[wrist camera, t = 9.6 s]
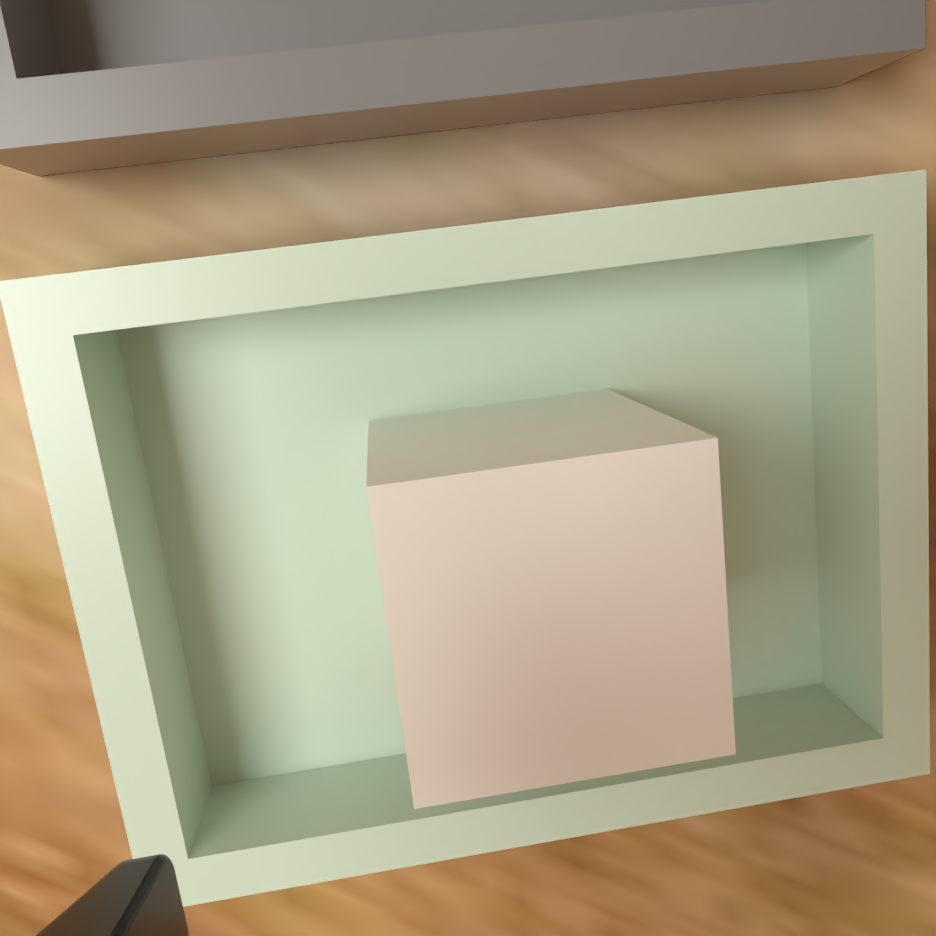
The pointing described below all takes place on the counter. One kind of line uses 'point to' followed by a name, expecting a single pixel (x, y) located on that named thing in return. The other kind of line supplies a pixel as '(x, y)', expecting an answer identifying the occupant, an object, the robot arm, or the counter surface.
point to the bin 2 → (459, 386)
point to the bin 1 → (396, 67)
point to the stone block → (551, 592)
